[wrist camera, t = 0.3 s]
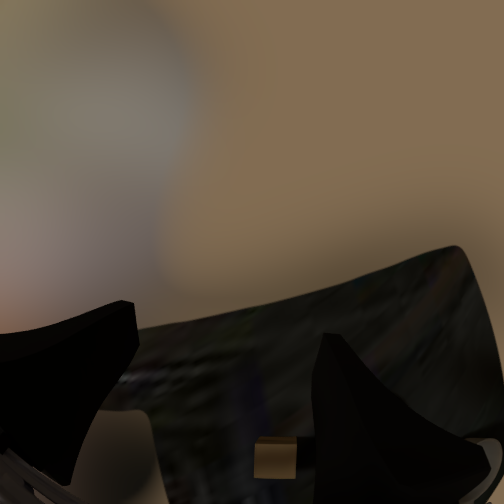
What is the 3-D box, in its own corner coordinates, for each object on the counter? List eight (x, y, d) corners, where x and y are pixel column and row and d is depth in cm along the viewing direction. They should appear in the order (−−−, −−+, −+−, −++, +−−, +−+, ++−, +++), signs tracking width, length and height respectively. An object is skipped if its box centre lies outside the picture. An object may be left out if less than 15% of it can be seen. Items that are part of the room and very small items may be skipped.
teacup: (432, 440, 26) (458, 448, 19) (482, 428, 24) (510, 430, 17) (412, 513, 20) (431, 531, 13) (464, 498, 18) (487, 509, 11)
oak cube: (294, 467, 29) (295, 478, 24) (258, 466, 29) (253, 477, 25) (296, 436, 31) (296, 444, 26) (259, 436, 32) (255, 443, 27)
